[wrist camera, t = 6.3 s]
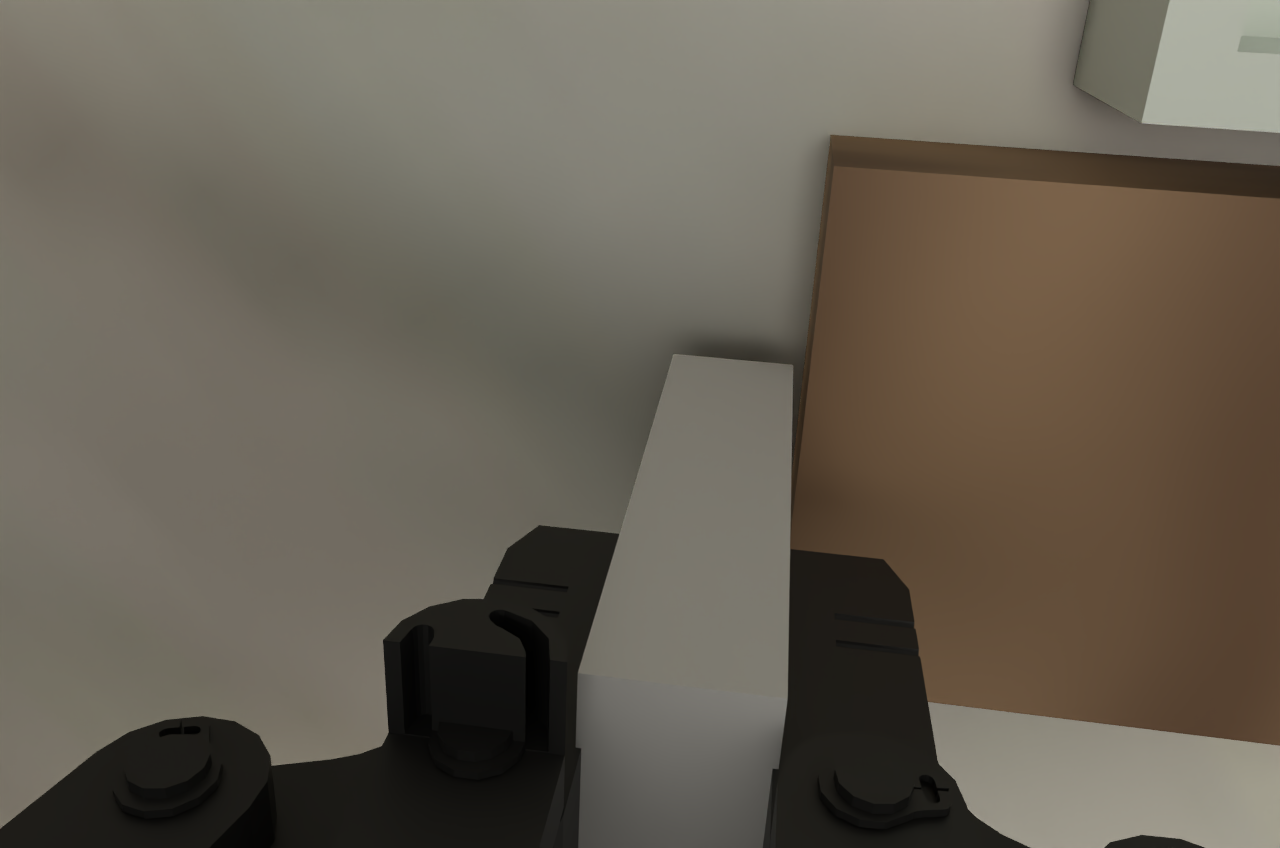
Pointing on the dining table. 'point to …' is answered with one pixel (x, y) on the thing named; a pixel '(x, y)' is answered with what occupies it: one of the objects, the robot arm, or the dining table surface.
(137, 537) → the dining table surface
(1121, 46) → the tray
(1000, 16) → the dining table surface
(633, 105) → the dining table surface
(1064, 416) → the tan wooden board
